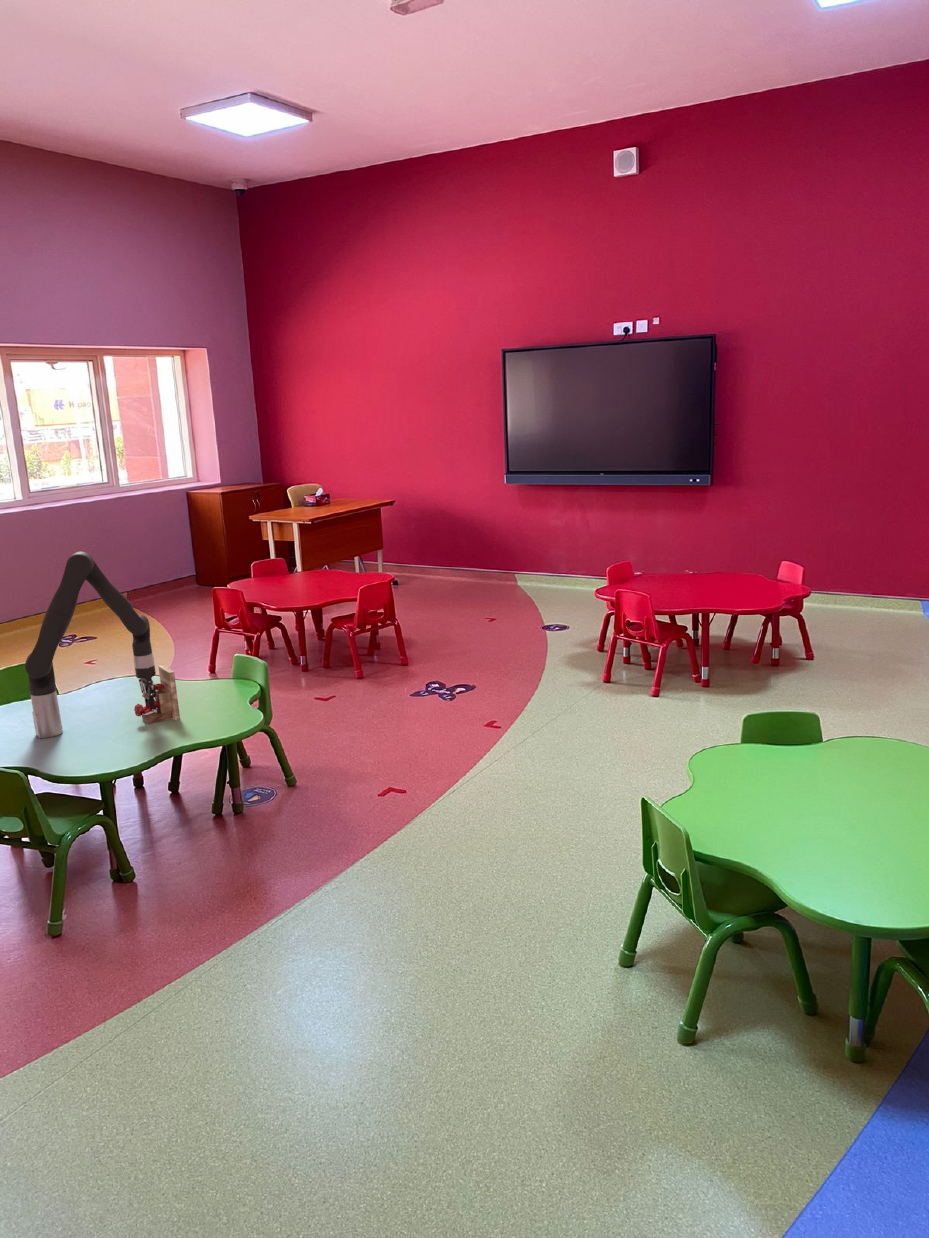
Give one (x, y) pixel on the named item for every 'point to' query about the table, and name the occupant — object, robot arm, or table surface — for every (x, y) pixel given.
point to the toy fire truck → (144, 710)
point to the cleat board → (165, 699)
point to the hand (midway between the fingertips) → (150, 705)
